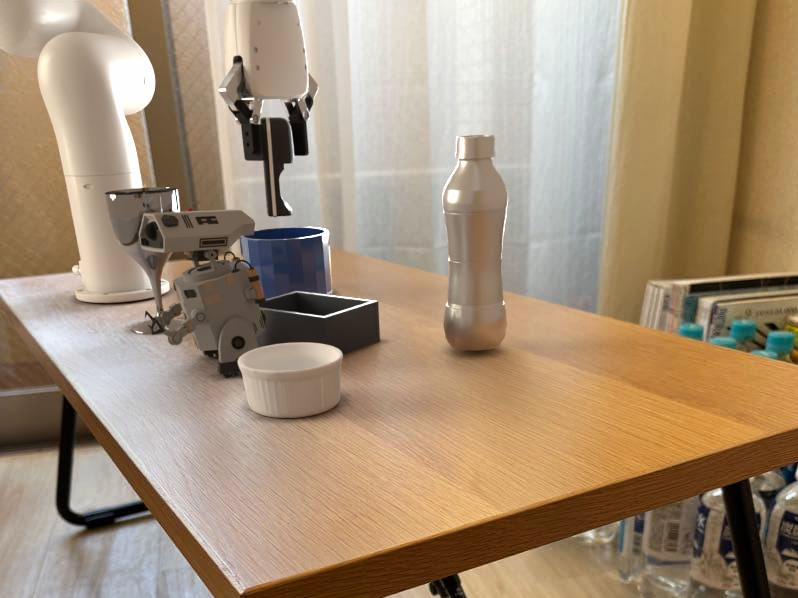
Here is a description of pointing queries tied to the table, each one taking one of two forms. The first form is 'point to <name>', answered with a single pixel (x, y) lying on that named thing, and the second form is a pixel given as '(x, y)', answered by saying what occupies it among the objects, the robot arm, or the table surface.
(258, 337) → the bin
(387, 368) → the table surface
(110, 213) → the wine glass
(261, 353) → the ramekin
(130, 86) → the robot arm
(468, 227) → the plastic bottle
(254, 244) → the cup
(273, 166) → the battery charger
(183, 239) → the figurine
